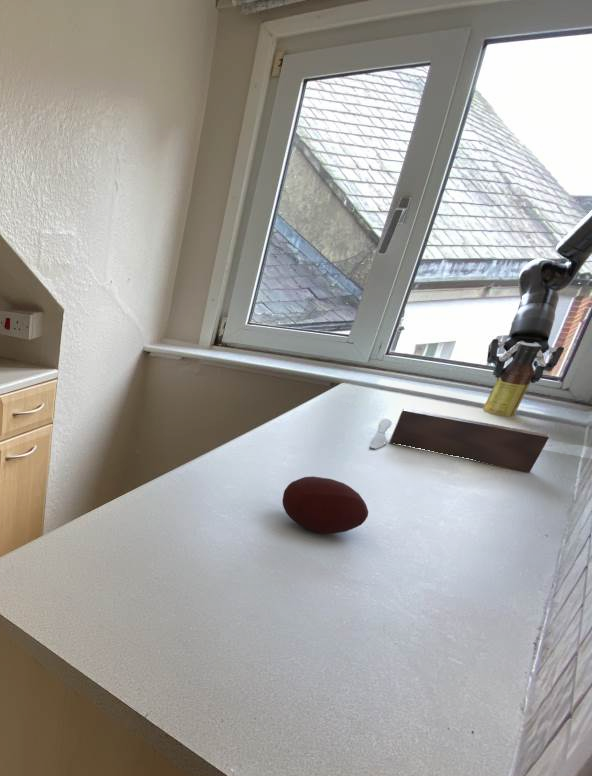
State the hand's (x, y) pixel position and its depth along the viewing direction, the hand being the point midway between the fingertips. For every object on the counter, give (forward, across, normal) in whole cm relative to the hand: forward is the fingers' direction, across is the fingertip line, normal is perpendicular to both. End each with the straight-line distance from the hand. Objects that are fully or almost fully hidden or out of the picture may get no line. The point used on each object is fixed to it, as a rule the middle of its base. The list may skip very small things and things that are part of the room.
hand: (515, 378), depth 140 cm
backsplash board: (+36, -10, -20) cm, 43 cm away
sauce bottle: (+7, 0, +9) cm, 12 cm away
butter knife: (+33, -24, -17) cm, 44 cm away
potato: (+77, -31, -61) cm, 103 cm away
